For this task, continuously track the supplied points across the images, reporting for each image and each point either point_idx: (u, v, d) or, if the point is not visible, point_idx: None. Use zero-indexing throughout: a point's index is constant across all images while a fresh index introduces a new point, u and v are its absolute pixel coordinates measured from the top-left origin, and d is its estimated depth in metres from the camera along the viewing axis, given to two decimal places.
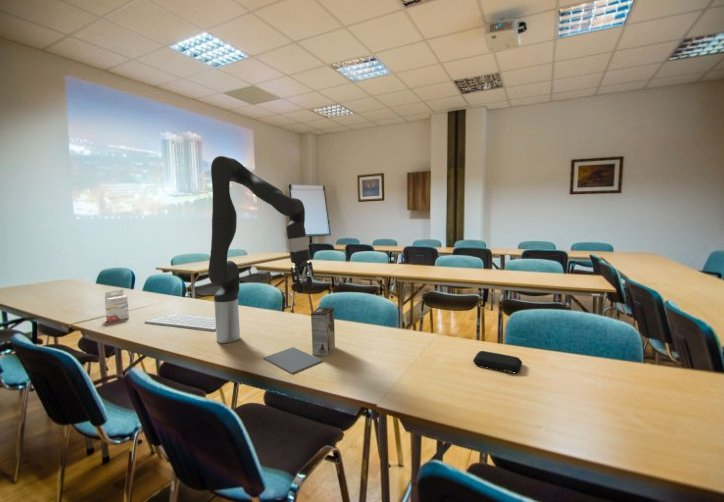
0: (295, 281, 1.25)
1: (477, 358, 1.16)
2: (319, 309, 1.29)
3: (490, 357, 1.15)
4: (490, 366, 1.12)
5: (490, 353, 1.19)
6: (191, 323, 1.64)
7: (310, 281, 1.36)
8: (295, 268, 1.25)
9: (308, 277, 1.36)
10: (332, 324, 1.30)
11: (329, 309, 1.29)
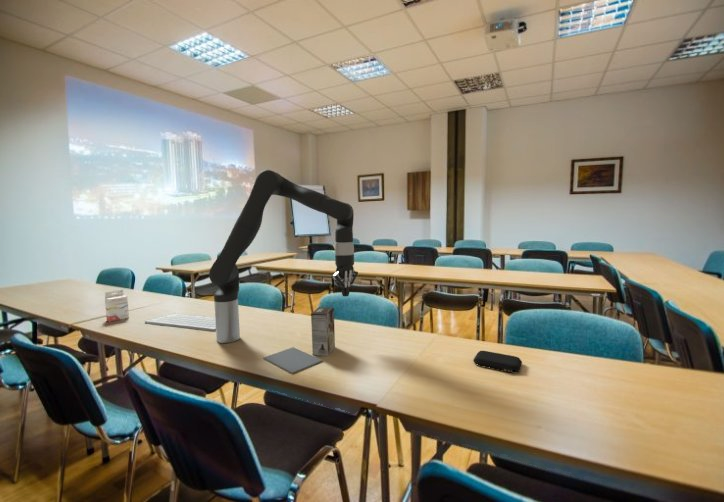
0: (339, 285, 1.34)
1: (477, 358, 1.16)
2: (319, 309, 1.29)
3: (490, 357, 1.16)
4: (490, 366, 1.13)
5: (490, 353, 1.19)
6: (191, 323, 1.64)
7: None
8: (335, 278, 1.31)
9: None
10: (332, 324, 1.30)
11: (329, 309, 1.29)
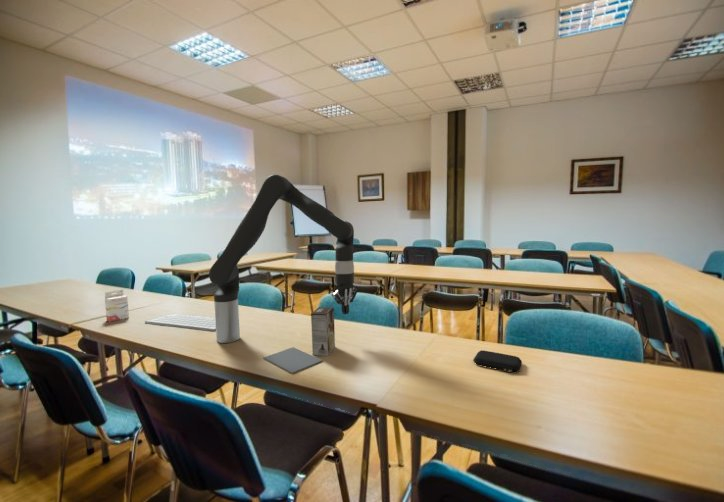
0: (339, 303, 1.35)
1: (477, 357, 1.16)
2: (319, 309, 1.29)
3: (490, 357, 1.16)
4: (490, 365, 1.13)
5: (490, 352, 1.19)
6: (191, 323, 1.64)
7: None
8: (335, 296, 1.32)
9: None
10: (332, 324, 1.30)
11: (329, 309, 1.29)
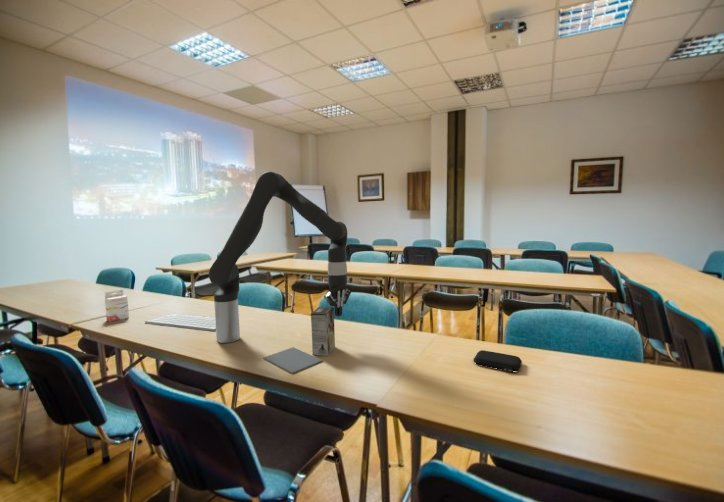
0: (332, 305, 1.32)
1: (477, 357, 1.16)
2: (319, 309, 1.29)
3: (490, 356, 1.16)
4: (490, 365, 1.13)
5: (490, 352, 1.20)
6: (191, 323, 1.64)
7: None
8: (327, 298, 1.29)
9: None
10: (332, 324, 1.30)
11: (329, 309, 1.29)
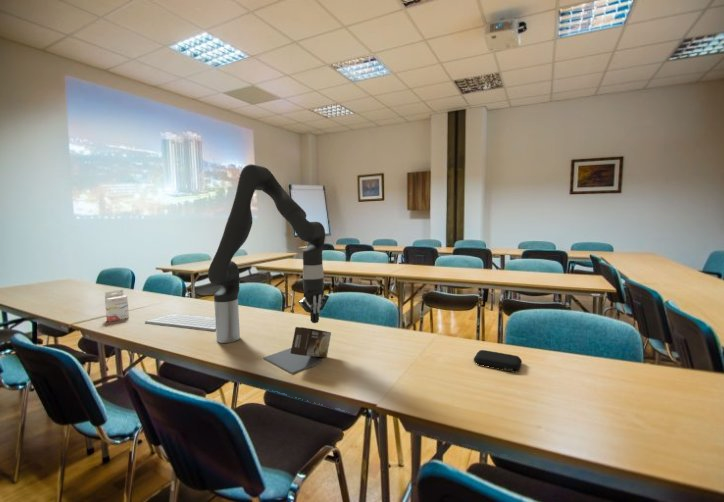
0: (307, 311, 1.23)
1: (477, 357, 1.16)
2: (297, 337, 1.13)
3: (490, 356, 1.16)
4: (490, 365, 1.13)
5: (490, 352, 1.20)
6: (191, 323, 1.64)
7: None
8: (302, 304, 1.20)
9: None
10: (318, 338, 1.17)
11: (307, 337, 1.12)
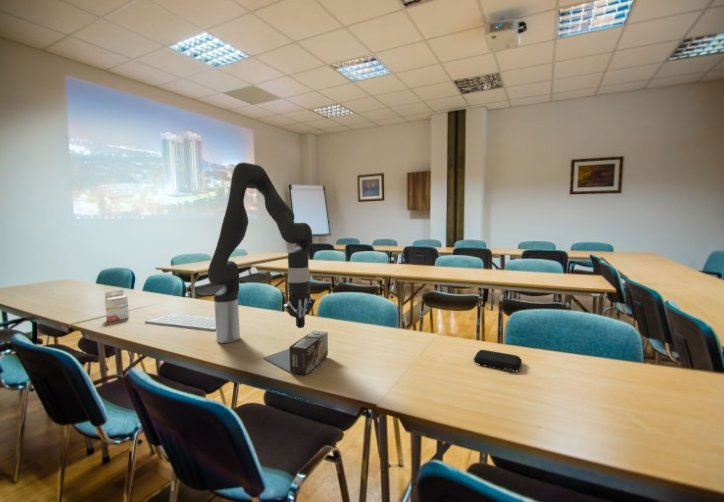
0: (292, 315, 1.19)
1: (477, 357, 1.17)
2: (293, 357, 1.10)
3: (490, 356, 1.16)
4: (490, 365, 1.13)
5: (490, 352, 1.20)
6: (191, 323, 1.64)
7: None
8: (286, 308, 1.16)
9: (301, 314, 1.21)
10: (314, 350, 1.14)
11: (303, 356, 1.09)
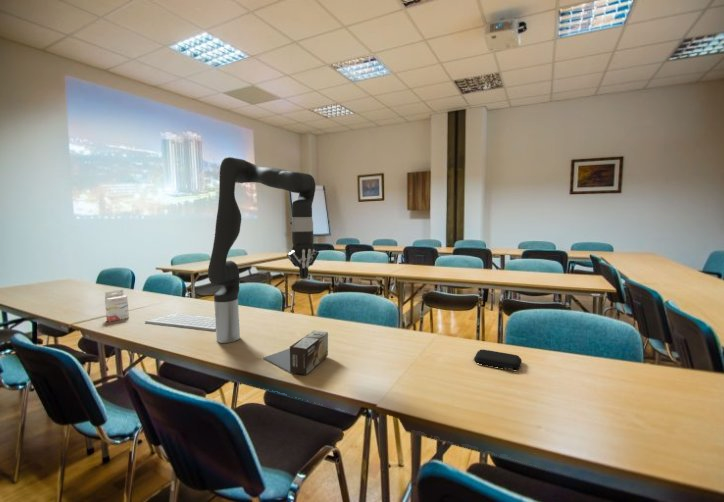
0: (296, 265, 1.20)
1: (478, 357, 1.17)
2: (293, 357, 1.10)
3: (490, 356, 1.17)
4: (491, 364, 1.14)
5: (490, 351, 1.20)
6: (191, 323, 1.64)
7: None
8: (290, 256, 1.17)
9: None
10: (315, 350, 1.14)
11: (303, 357, 1.09)
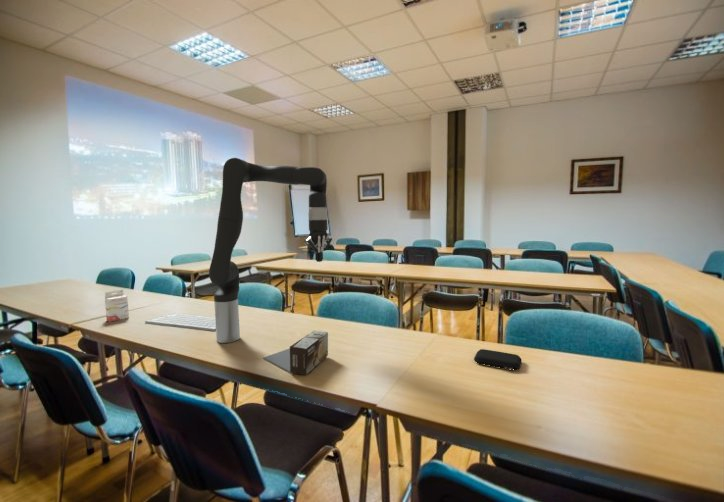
0: (312, 250, 1.36)
1: (478, 356, 1.17)
2: (293, 357, 1.10)
3: (490, 355, 1.17)
4: (491, 364, 1.14)
5: (490, 351, 1.21)
6: (191, 323, 1.64)
7: None
8: (308, 242, 1.33)
9: None
10: (315, 350, 1.14)
11: (303, 357, 1.09)
